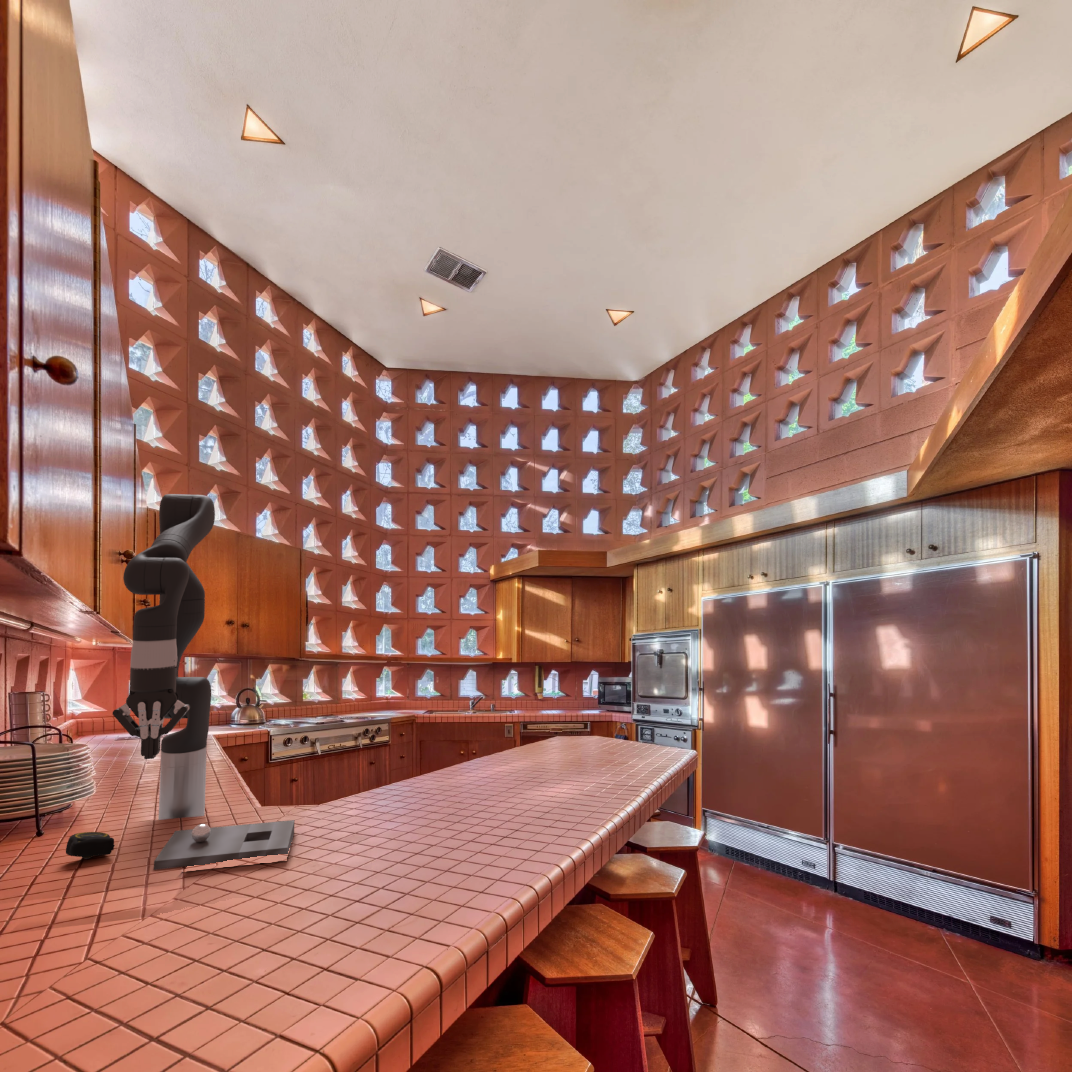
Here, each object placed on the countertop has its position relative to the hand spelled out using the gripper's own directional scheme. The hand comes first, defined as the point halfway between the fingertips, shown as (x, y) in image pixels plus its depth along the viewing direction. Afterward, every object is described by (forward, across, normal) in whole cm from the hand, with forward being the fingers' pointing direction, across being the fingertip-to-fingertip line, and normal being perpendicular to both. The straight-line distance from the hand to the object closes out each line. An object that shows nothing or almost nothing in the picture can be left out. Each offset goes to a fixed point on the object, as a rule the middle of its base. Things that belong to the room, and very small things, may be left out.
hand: (150, 757), depth 121 cm
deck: (+19, +14, 0) cm, 23 cm away
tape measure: (+18, -11, +1) cm, 21 cm away
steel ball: (+14, +9, 0) cm, 17 cm away
